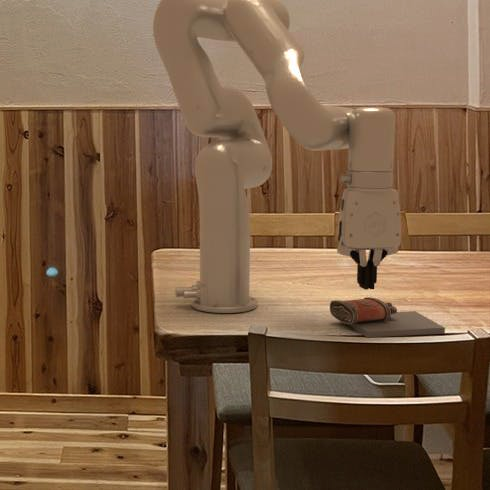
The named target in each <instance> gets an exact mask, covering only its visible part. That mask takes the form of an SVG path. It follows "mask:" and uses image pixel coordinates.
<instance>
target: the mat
mask: <svg viewBox="0 0 490 490" xmlns="http://www.w3.org/2000/svg"><path fill="white" fill-rule="evenodd" d="M348 325H349V326H351V328H353V329H355V330H356V331H358V332H359V333H360V334H361V335H363V336H364V337H366V338H381V337H382V338H384V337H402V336H420V335H421V336H423V335H439V334H440V335H441V334H446V331H445V330H446V327H444V326H443V325H442V324H439V323H437V322H435V321H434V320H432V319H430V318H428V316H427V317H426V316H425V315H424V314H421V313H419V312H418V311H415V310H409V311H397V313H396V314H391V315H390V318H389V320H371V321H361V322H356V323H354V324H348Z"/></svg>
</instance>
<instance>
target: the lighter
mask: <svg viewBox="0 0 490 490" xmlns="http://www.w3.org/2000/svg"><path fill="white" fill-rule="evenodd" d="M329 312H330V313H331V316H333V317H334V318H335V319H336V320H338V321H339V322H340V323H344V324H348V325H349V324H354V323H356V322H361V321H371V320H389V318H390V315H391V314H396V313H397V312H398V308H397V306H395V305H393V303H392V302H384V301H383V300H381V299H379V298H376V297H371V296H370V297H368V296H367V297H364V298H359V299H349V300H347V299H346V300H331V301H330V303H329Z"/></svg>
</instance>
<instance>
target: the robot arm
mask: <svg viewBox="0 0 490 490" xmlns="http://www.w3.org/2000/svg"><path fill="white" fill-rule="evenodd" d="M290 23H291V21H290V15H289V11H288V10H287V7H286V6H285V4H283V3H282V2H281V1H280V0H160V1H159V3H158V5H157V7H156V9H155V12H154V17H153V23H152V31H153V32H152V34H153V40H154V43H155V46H156V49H157V52H158V54H159V57H160V59H161V61H162V63H163V65H164V69H165V71H166V73H167V75H168V78H169V81H170V83H171V85H170V86H171V87H172V90H173V93H174V96H175V99H176V100H177V101H176V102H177V104H178V107H179V110H180V113H181V116H182V118H183V120H184V123H185V126H186V127H187V129H188V130H189V132H190V133H191V134H193V135H195V136H196V137H201V138H218V139H219V140H217V141H211V142H210V143H207V145H204V146H203V147H202V148H201V149H200V151H199V153H198V154H197V156H196V159H195V164H194V177H195V180H196V181H195V182H196V187H197V192H198V203H199V204H198V206H199V280H196V284H191V286H175V289H174V293H175V297H176V298H179V297H180V298H182V297H183V299H191V298H192V299H191V307H192V308H193V309H195V310H197V311H200V312H207V313H214V314H235V313H237V314H238V313H243V312H249V311H251V310H252V311H253V310H255V309H256V308H257V307H258V300H257V298H255V297H253V296H251V295H250V282H251V281H250V277H251V276H250V274H251V273H250V267H251V264H250V263H251V262H250V261H251V260H250V259H251V253H250V251H251V215H250V214H251V213H250V212H251V211H250V206H249V201H248V197H247V194H246V190H249V189H253V188H258V187H260V186H261V185H264V184H265V183H266V182H267V180H268V179H269V178H270V176H271V174H272V170H273V157H272V154H271V150H270V147H269V144H268V141H267V139H266V136H265V132H264V131H263V129H262V125H261V122H260V120H259V117H258V114H257V112H256V109H255V107H254V105H253V103H252V102H251V100H250V99H249V97H247V96H246V94H245V93H243V92H241V91H240V90H238V89H236V88H235V89H234V88H232V87H230V88H229V87H223V86H222V85H221V83H220V81H219V79H218V78H217V77H218V76H217V75H216V72H215V69H214V67H213V66H214V65H213V63H212V61H211V59H210V57H209V55H208V53H207V52H206V51H205V50H204V49H203V47H202V46H201V44H200V42H199V40H198V38H203V39H208V40H214V41H225V42H234V43H235V42H236V43H237V44H238V46H239V48H241V50H242V51H243V52H244V54H245V55H246V56H247V58H248V60H249V61H250V62H251V64H252V65H253V66H254V68H255V69H256V71H257V72H258V73H259V75H260V76H261V77H262V79H263V81H264V84H265V90H266V94H267V98H268V101H269V104H270V106H271V108H272V111H273V112H274V114H275V116H276V117H277V119H278V121H279V122H280V123H281V124H282V125H283V127H284V128H285V130H286V131H287V132H288V134H289V135H290V136H291V138H293V140H294V141H295V142H296V143H297V144H298V145H300V146H301V147H302V148H304V149H306V150H309V151H313V152H314V151H315V152H316V151H319V152H320V151H339V150H345V149H347V150H348V159H347V160H348V161H347V162H348V163H347V164H348V165H347V168H348V170H346V173H345V174H340V175H339V182H340V183H344V184H346V187H347V188H345V189H343V192H342V196H341V202H340V204H339V205H340V207H339V213H338V223H337V243H338V245H337V250H336V251H337V254H339V255H341V256H345V257H350V259H352V260H353V261H354V263H355V264H356V265H357V269H356V272H357V273H356V282H357V284H358V285H359V288H361V289H364V290H366V291H367V290H374V289H375V284H377V282H378V279H377V278H378V267H379V266H380V264H381V262H382V261H383V260H384V259H385V258H386V257H387V256H390V255H395V254H397V253H398V252H399V246H400V245H401V243H402V242H401V240H402V219H401V207H400V199H399V193H398V190H397V189H394V188H393V180H394V157H395V156H394V154H395V131H396V116H395V112H394V111H393V110H392V109H390V108H389V107H379V106H377V107H375V106H374V107H373V106H372V107H371V106H367V107H366V106H365V107H364V106H363V107H356V108H351V107H345V106H340V105H339V106H336V105H323V104H321V102H320V101H319V100H318V98H317V97H316V96H315V94H314V93H313V92H312V90H311V89H310V88H309V86H308V85H307V83H306V81H305V80H304V77H303V75H302V73H301V66H302V64H303V62H304V59H305V51H304V49H303V47H301V45H300V44H299V43H298V41H297V40H296V39H295V38H294V36H293V35H292V33H291V32H290V31H289V28H290ZM367 250H368V257H367V252H366V251H367Z"/></svg>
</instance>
